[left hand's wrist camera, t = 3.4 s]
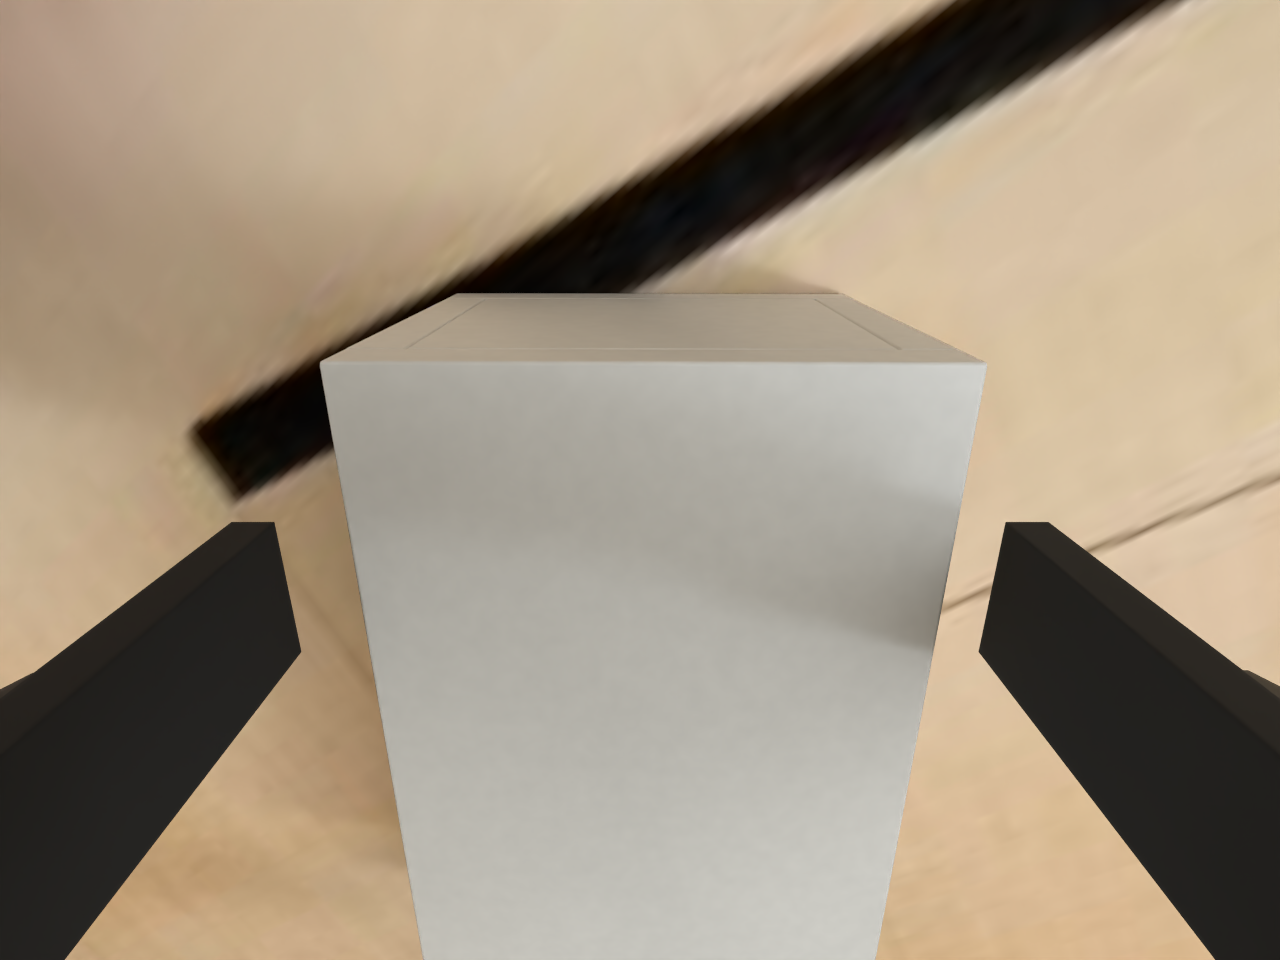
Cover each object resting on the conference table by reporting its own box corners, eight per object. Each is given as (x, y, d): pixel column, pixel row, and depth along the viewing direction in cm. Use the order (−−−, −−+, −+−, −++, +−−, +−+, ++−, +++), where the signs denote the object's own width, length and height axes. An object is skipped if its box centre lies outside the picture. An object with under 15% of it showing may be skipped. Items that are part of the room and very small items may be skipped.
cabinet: (784, 848, 26) (844, 1127, 18) (509, 846, 26) (450, 1123, 18) (844, 293, 18) (989, 362, 11) (456, 293, 19) (317, 360, 11)
